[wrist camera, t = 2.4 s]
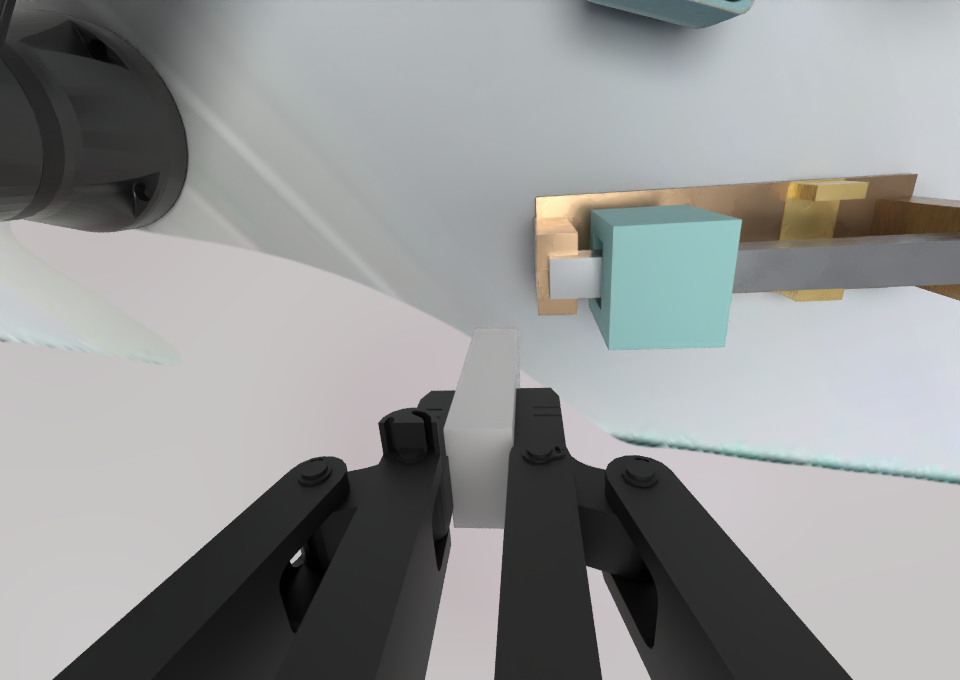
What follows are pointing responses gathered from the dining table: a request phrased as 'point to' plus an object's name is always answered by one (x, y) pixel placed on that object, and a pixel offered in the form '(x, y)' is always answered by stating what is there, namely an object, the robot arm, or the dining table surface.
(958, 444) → the dining table surface
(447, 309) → the dining table surface
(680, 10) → the flower pot
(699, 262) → the block
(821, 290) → the rail
